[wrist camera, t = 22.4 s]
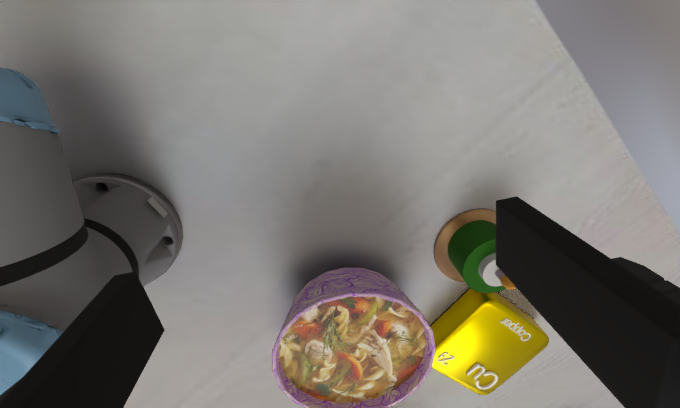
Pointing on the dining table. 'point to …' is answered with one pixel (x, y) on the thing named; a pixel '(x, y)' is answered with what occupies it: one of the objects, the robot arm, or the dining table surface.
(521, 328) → the element tile
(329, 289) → the bowl of food
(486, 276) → the candle
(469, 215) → the cork trivet
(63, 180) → the robot arm
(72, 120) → the dining table surface
